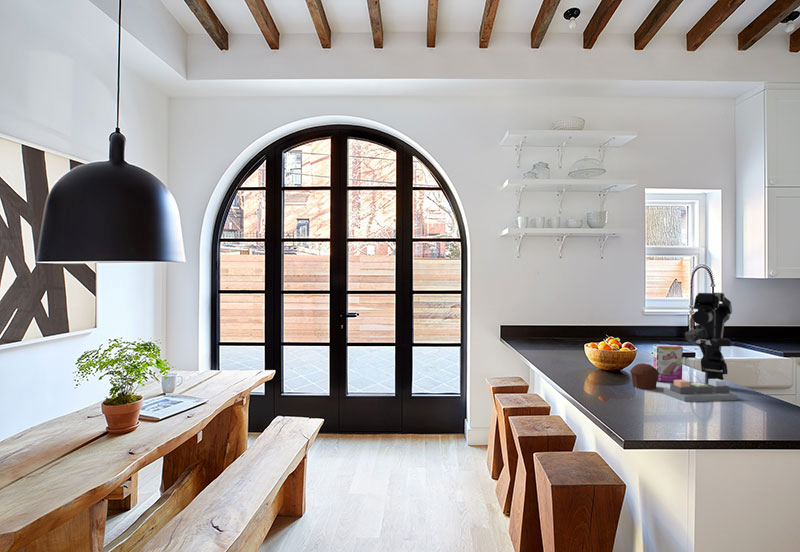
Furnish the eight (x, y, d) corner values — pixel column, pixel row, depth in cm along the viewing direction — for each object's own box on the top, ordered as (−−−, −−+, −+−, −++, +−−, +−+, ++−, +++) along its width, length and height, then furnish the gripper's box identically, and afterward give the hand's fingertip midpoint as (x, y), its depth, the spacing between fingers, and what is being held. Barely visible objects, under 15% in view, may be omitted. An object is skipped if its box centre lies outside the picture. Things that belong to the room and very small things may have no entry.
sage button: (691, 390, 187) (691, 383, 187) (700, 390, 187) (700, 382, 187) (698, 393, 183) (698, 385, 183) (707, 392, 183) (707, 385, 184)
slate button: (708, 386, 188) (708, 379, 188) (717, 386, 188) (717, 378, 188) (716, 388, 184) (716, 381, 184) (725, 388, 184) (725, 380, 184)
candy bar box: (657, 382, 211) (657, 346, 211) (652, 379, 216) (652, 344, 216) (683, 382, 210) (683, 346, 210) (677, 380, 215) (677, 344, 215)
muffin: (663, 391, 194) (663, 367, 194) (634, 389, 196) (634, 366, 196) (653, 384, 206) (653, 362, 206) (626, 383, 208) (626, 361, 208)
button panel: (663, 393, 190) (663, 382, 190) (713, 392, 192) (713, 381, 192) (684, 401, 178) (684, 389, 178) (737, 399, 180) (737, 388, 180)
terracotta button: (673, 387, 186) (673, 379, 186) (683, 387, 187) (683, 379, 187) (680, 389, 182) (680, 382, 182) (690, 389, 183) (690, 381, 183)
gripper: (673, 321, 202) (673, 357, 202) (706, 325, 183) (706, 365, 183) (697, 320, 203) (697, 356, 203) (732, 325, 184) (732, 364, 184)
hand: (706, 360), depth 193 cm, fingers closed
